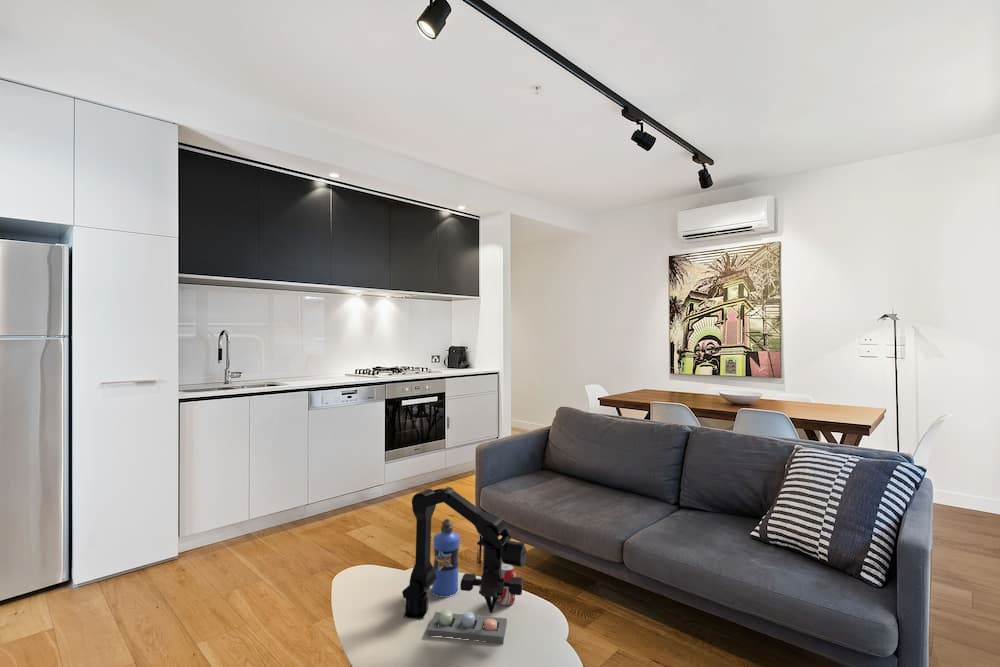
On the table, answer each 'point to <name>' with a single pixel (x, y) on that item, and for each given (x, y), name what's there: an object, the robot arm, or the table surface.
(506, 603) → the soda can
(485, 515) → the robot arm
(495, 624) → the terracotta button
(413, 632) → the table surface
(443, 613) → the sage button
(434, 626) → the button panel
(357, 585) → the table surface
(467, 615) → the blue button
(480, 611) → the table surface
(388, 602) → the table surface
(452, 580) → the water bottle
